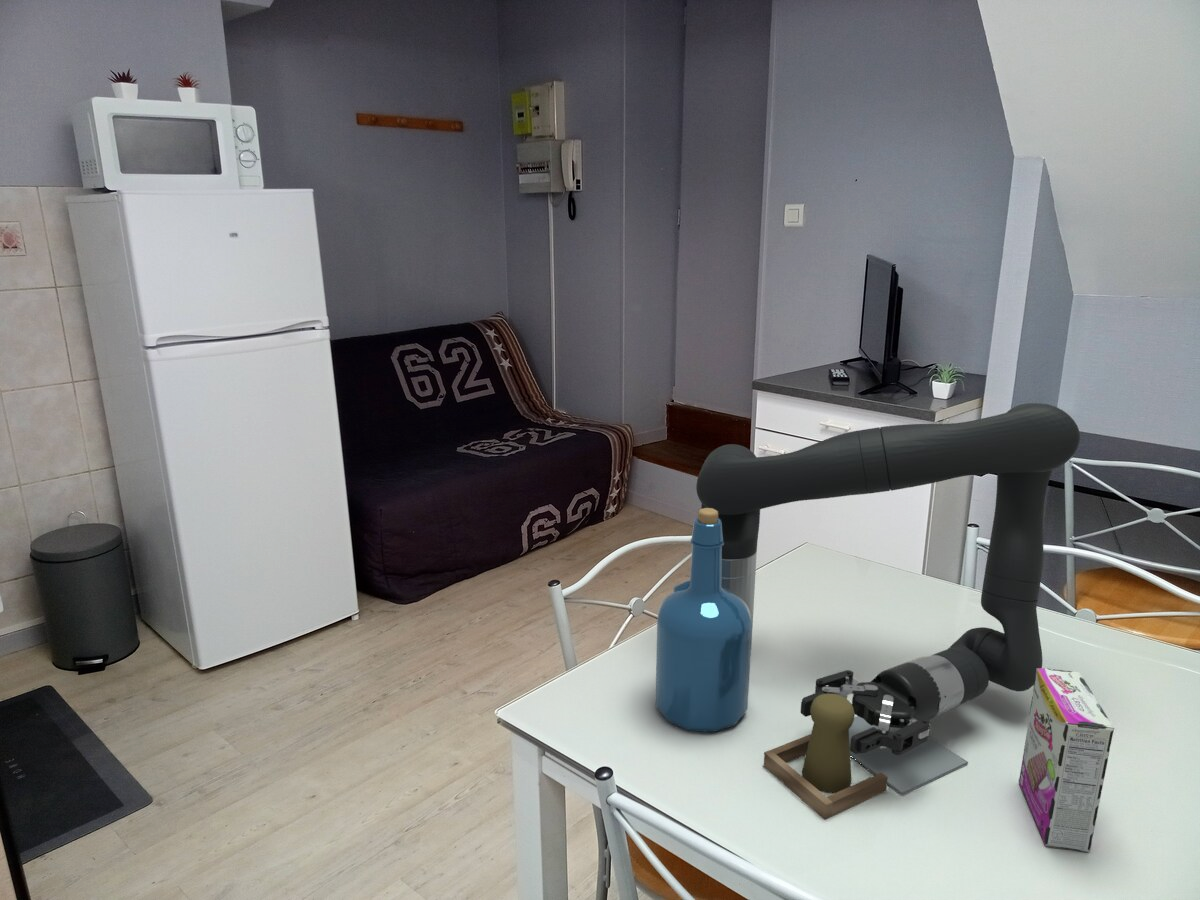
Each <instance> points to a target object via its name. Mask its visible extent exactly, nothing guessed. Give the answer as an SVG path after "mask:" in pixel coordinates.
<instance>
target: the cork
mask: <svg viewBox="0 0 1200 900" xmlns="http://www.w3.org/2000/svg"><path fill="white" fill-rule="evenodd" d="M810 713H811V715H810V716H811V718H810V719H811V721H812V722H813V725H812V729H811V732H810V734H811V736H810V741H809V745H808V749H807V753H806V755H805V757H804V762H803V766H802V770H801V776H802V777H803V778H805V779H806V780H807V781H808V782H809V783H811V784H812V785H813V786H814V787H815V788H817V789H818V790H819V791H820V792H821V793H825V794H826V793H827V794H834V793H837V792H839V791H841V790H843V789H846V788H848V787H850V786H852V782H853V781H852V763H851V757H850V744H849V728H850V727H851V726H852V724H853V721H854V717H856V715H855V714H854V709H853V706H852V702H850V700H848V698H847V699H846V698H844V697H842V696H840V695H836V694H822V695H819V696H818V697H816V698H815V699H814V700H813V702H812V705H811V709H810ZM851 781H852V782H851Z"/></svg>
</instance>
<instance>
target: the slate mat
mask: <svg viewBox="0 0 1200 900" xmlns="http://www.w3.org/2000/svg"><path fill="white" fill-rule="evenodd" d="M872 727H874V728H876V729H878V726H875V725H872V726H871V725H870V724H868V723H867V722H866V721H865V720H864V719H863V718H861V717H859V716H857V715H856V716H855V717H854V721H853V724H852V726H851V727H850V728H849V744H850V743H851V738H852V736H853V735H855V734H858V733H860V732H863V731H865V730H868V729H870V728H872ZM900 729H902V728H892V727H890V732H893V733H894V732H896V731H898V730H900ZM850 756H852V757H853V758H854V759H856V761H855V762H857V761H858V762H859V763H861V764H862V765H861V764H860V765H861V766H862V767H863V766H864V767H863V768H864V769H866V768H867V769H868V770H869V772H870V771H871V772H870V773H871V774H872V773H873V775H874V774H875V775H877V774H879V773H881V772H882V773H883V774H884V775H886V776H887V777H888V779H887V787H890V788H891V789H892V790H893V791H895V792H896V793H898V794H899V795H900V796H904V795H906V794H908V793H910V792H912V791H915V790H917V789H919V788H921V787H923V786H926V785H927V784H929V783H932V782H933V781H936V780H938V779H939V778H942V777H944V776H946V775H948V774H950V773H952V771H953V772H954V770H955V771H957V770H958V769H962V768H963V767H964V766H968V764H969V762H968V760H967V759H965V758H964V757H961V756H960V755H959V754H957V753H955V752H954V751H952V750H951V749H949V748H948V747H946V746H945V745H943V744H942V743H940V742H939V741H938V740H937V739H934V738H932V736H930V735H928V740H927V741H926V742H924V743H922V744H920V745H918V746H917V747H915V748H913V749H911V750H909V751H907V752H905V753H903V754H901V755H895V754H893V753H892V749H890V748H888V747H886V748H879V747H878V748H876V749H873V750H871V751H869V752H866V753H858V754H854V753H853V752H852V751H850ZM853 758H852V759H853ZM854 759H853V760H854ZM858 762H857V763H858ZM859 763H858V764H859ZM867 769H866V770H867ZM956 769H957V770H956ZM868 770H867V771H868ZM875 775H874V776H875ZM943 775H944V776H943ZM941 776H942V777H941ZM937 778H938V779H937ZM935 779H936V780H935Z"/></svg>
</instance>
